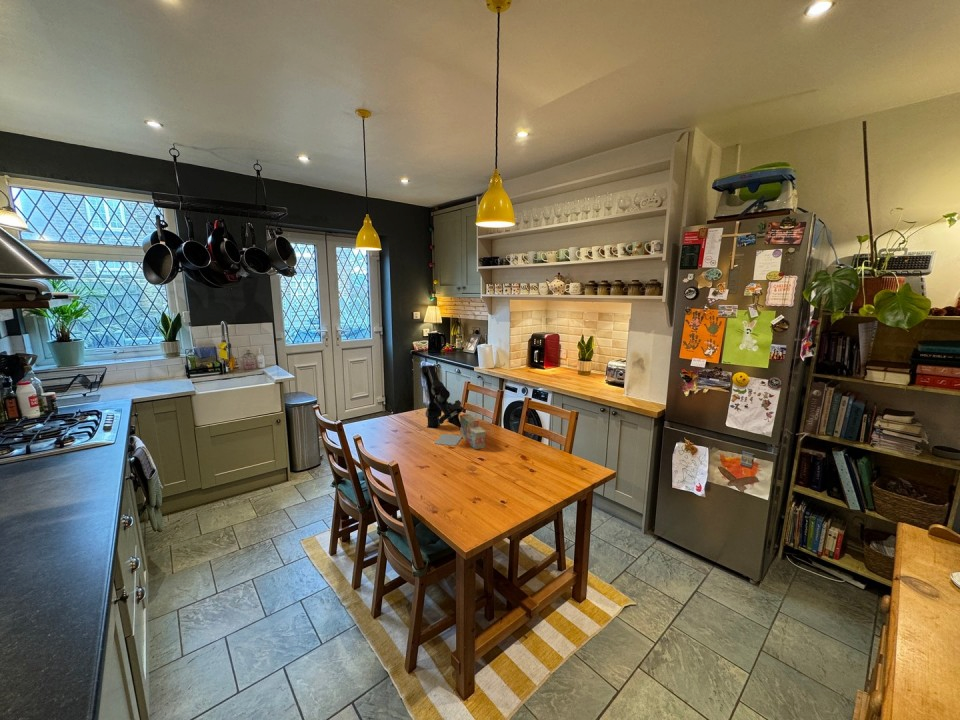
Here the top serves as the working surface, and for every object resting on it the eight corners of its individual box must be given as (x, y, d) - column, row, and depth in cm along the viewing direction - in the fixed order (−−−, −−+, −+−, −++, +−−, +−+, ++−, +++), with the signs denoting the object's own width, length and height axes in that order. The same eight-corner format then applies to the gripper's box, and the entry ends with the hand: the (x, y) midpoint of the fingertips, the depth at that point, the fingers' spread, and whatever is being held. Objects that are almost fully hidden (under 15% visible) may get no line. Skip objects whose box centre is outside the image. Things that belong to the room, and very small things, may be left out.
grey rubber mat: (434, 443, 210) (434, 443, 210) (443, 434, 223) (443, 433, 223) (455, 446, 207) (455, 445, 207) (462, 436, 221) (462, 435, 221)
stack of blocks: (485, 447, 205) (486, 425, 203) (474, 449, 202) (475, 427, 200) (469, 433, 224) (469, 413, 222) (459, 435, 221) (459, 414, 219)
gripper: (442, 401, 205) (460, 424, 202) (461, 392, 221) (477, 414, 218) (430, 412, 210) (448, 435, 207) (449, 403, 227) (465, 424, 223)
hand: (460, 427), depth 214 cm, fingers closed
